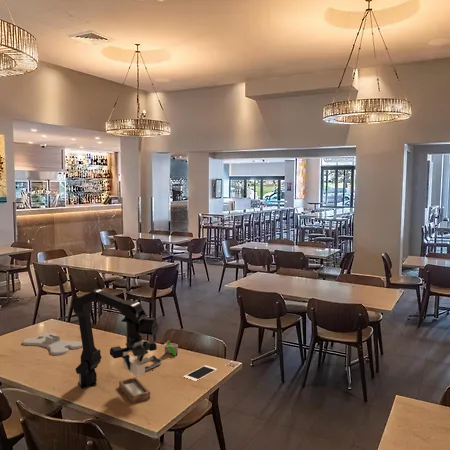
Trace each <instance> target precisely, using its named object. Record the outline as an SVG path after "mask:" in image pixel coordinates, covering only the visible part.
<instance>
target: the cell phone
mask: <svg viewBox="0 0 450 450" xmlns="http://www.w3.org/2000/svg"><path fill="white" fill-rule="evenodd" d="M216 371H218V368H215V367H212V366H209V365H207V364H206V365H202V366H201V367H199V368H197V369H194V370H193V371H191V372H189V373H188V374H184V375H183V376H182V377H183V378H184V377H185V379H187V378H188V380H190V379H191V380H190V381H193V382H198V381H199V379H200V380H201V379H203V378H205V377H207V376H209V375H211V374H212V373H214V372H216ZM210 373H211V374H210ZM197 380H198V381H197Z"/></svg>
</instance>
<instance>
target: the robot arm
mask: <svg viewBox="0 0 450 450" xmlns="http://www.w3.org/2000/svg"><path fill="white" fill-rule="evenodd" d="M95 301H96V302H99V303H101V304H104V305H105V306H108V307H111V308H113V309H115V310H118V311H119V313H120V314H121V315H123V316H124V317H123V319H122V320H121V323H125V327H126V328H125V331H126V333H125V337H126V342H125V346H126V347H122V348H121V346H120V345H118V346H113V347H110V349H109V355H110V356H111V357H112V358H113V359H118V358H122V359H123V358H124V360H125V363H126V365H127V367H128V370H130V361H129V358H130V355H129V353H132V356H133V357H137V358H136V359H137V360H139V361H141V362H142V359H143V358H145V356H146V355H147V354H149V352H153V351H157V348H158V347H157V343H156V342H154V341H153V340H152V339H149V340H144V341H143V339H142V335H148V336H156V335H157V333H158V332H159V323H158V322H157V320H156V318H154V317H153V318H151V317H149V316H148V315H147V313H146V312H145V310H144V308H143V306H142V303H141V302H139V301H135V300H132V299H122V298H121V297H118V296H116V295H113V294H111V293H108V292H106V291H104V290H103V289H100V288H96V289H94V290H91V291H90V292H88V293H87V294H86V293H85V294H81V295H78V296H76V297H74V298H73V299H72V300H71V307H72V310H73V313H74V314H75V315H76V316H77V318H78V319H77V320H78V326H79V331H80V332H79V334H80V337H81V338H80V341H81V342H82V346H83V347H82V351H81V353H80V354H81V355H80V364H79V365H78V366H77V367H76V368H75V372H76V374H77V375H78V378H79V379H78V380H79V381H78V382H77V383H78V385H79V386H80V388H81V389H85V388H89V387H93V386H96V385H97V381H98V379H97V372H96V369H97V368H98V366H99V365H100V363H101V361H102V360H101V359H102V355H101V349H97V348H96V347H95V342H94V341H95V339H94V335H93V334H94V333H93V327H92V321H91V312H92V309H93V302H95ZM128 370H127V371H128Z"/></svg>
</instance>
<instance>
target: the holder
mask: <svg viewBox="0 0 450 450" xmlns="http://www.w3.org/2000/svg"><path fill="white" fill-rule="evenodd" d="M22 345H23V346H27V345H29V346H34V345H36V346H37V347H44V348H45V349H46V348H47V349H48V350H49V353H50V355H52V356H62V355H65V354H67V353H68V352H69V349H70V350H79V349H82V348H83V346H82V340H80V341H79V340H66V339H65V340H63V339H61V337H60V336H59V335H57V334H56V333H55V332H46V333H45V332H44V333H41V334H40V335H39V336H38V338H37V337H28V338H26V339H24V340H23V341H22ZM81 347H82V348H81Z"/></svg>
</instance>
